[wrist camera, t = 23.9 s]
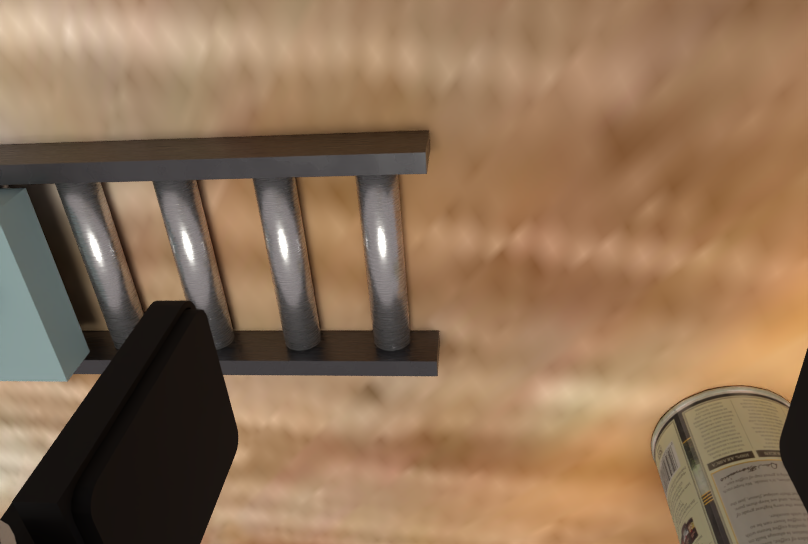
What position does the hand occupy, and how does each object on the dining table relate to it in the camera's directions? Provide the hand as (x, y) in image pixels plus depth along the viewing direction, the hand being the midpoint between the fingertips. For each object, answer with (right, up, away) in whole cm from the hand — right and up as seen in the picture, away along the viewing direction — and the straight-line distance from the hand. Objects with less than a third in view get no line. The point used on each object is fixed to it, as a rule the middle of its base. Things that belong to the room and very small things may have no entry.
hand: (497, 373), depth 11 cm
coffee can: (+21, -10, +38) cm, 45 cm away
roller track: (-18, +3, +34) cm, 38 cm away
